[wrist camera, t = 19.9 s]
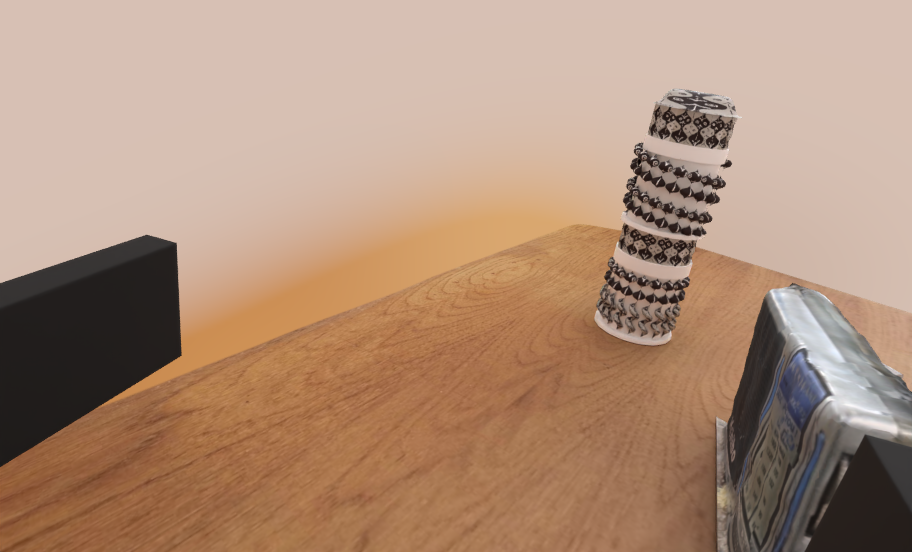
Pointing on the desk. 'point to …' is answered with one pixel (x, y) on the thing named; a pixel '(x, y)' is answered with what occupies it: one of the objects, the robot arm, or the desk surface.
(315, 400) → the desk surface
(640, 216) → the white patterned cylinder
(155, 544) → the desk surface
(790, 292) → the radio
